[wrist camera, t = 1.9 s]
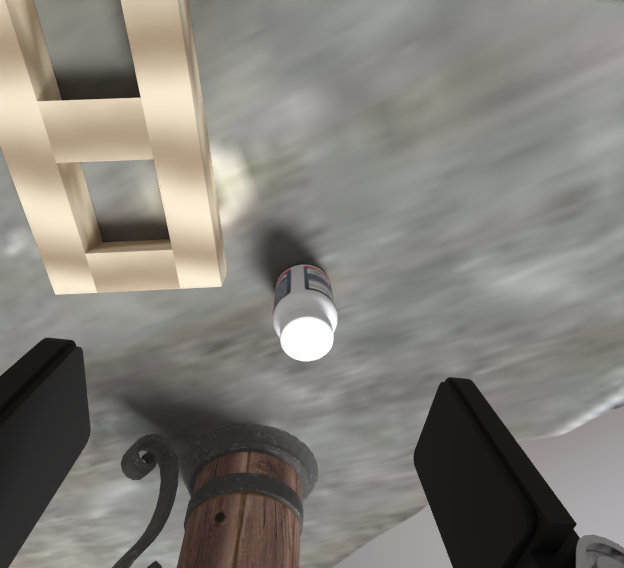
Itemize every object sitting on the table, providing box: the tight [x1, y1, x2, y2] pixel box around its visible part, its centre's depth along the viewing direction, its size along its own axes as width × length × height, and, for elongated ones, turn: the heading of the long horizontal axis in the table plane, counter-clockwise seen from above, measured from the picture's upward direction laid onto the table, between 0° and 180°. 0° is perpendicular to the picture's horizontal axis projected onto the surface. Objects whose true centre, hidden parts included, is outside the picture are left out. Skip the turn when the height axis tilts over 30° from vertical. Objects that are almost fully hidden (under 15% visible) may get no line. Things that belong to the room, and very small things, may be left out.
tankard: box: [112, 424, 318, 568], centre depth 35 cm, size 23×17×20 cm
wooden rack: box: [0, 0, 227, 295], centre depth 25 cm, size 36×14×3 cm, turn 2°
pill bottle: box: [273, 265, 337, 361], centre depth 31 cm, size 5×5×9 cm
